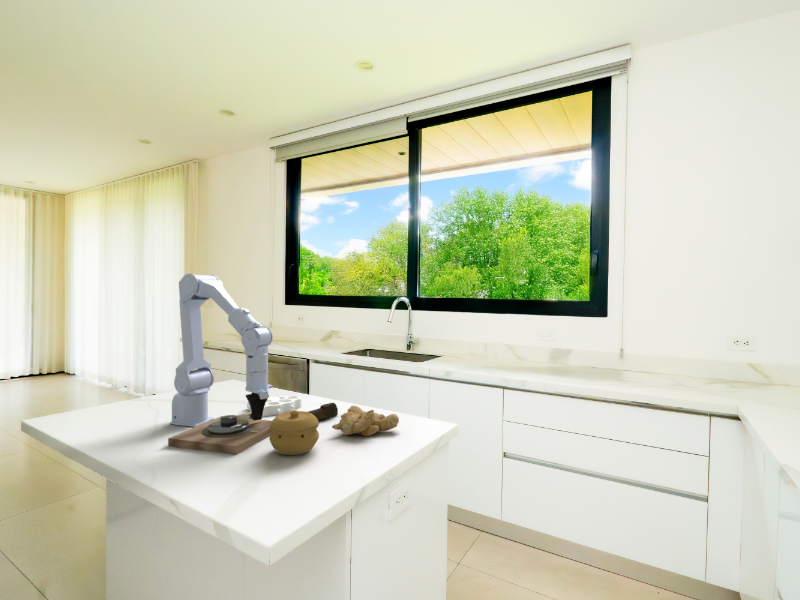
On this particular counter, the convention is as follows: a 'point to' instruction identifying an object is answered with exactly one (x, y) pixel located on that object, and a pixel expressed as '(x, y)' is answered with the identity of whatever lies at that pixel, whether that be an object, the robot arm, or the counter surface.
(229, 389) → the counter surface
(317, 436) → the pot
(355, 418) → the ginger root
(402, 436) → the counter surface
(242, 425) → the dial
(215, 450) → the dial board
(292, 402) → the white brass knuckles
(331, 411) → the brown rough bar
